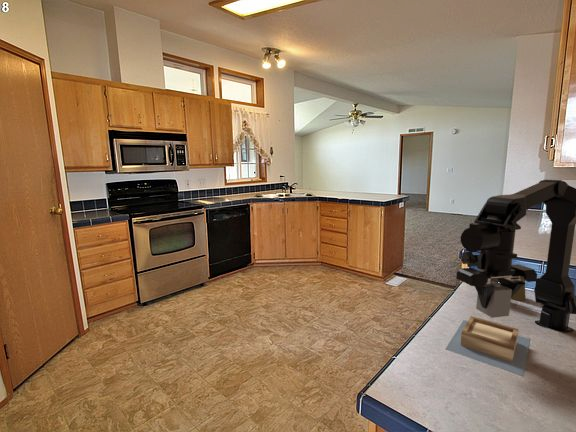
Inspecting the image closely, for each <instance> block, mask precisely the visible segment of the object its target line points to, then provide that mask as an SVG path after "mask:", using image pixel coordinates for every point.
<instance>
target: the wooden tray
mask: <svg viewBox="0 0 576 432" xmlns="http://www.w3.org/2000/svg"><path fill="white" fill-rule="evenodd" d="M467 321H468V322H467V323H466V325H465V327H464V328H463V330H462V334H461V344H460V345H462V346H465V347H468V348H471V349H474V350H477V351H480V352H483V353H486V354H489V355H492V356H495V357H498V358H501V359H504V360H507V361H510V362H512V361H513V357H514V353H515V349H516V345H517V339H518V336H519V328H516V327H512V326H508V325H506V324H501V323H497V322H494V321H490V320H487V319H484V318H479V317H475V316H470V317H469V318H468V320H467Z"/></svg>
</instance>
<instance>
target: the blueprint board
mask: <svg viewBox="0 0 576 432" xmlns="http://www.w3.org/2000/svg"><path fill="white" fill-rule="evenodd" d="M467 322H468V320H464V319H463V320H462V321H461V323H460V325H459V326H458V329H457V330H456V332H455V333H454V335H453V336H452V338H451V339H450V341H449V342H448V344H447V346H446V347H445V350H446V351H450V352H451V353H452V352H453V353H456V354H458V355H461V356H464V357H467V358H469V359H473V360H475V361H478V362H481V363H484V364H487V365H490V366H493V367H495V368H499V369H501V370H503V371H507V372H510V373H512V374H515V375H518V376H522V377H524V375H525V371H526V367H527V359H528V355H529V354H528V353H529V347H530V343H531V338H528V337H525V336H521V335H518V339H517V345H516V349H515V353H514V357H513V361H512V362H510V361H507V360H504V359H501V358H498V357H495V356H492V355H489V354H486V353H483V352H480V351H477V350H474V349H471V348H468V347H465V346H462V345H460V344H461V334H462V330H463V328H464V327H465V325H466V323H467Z"/></svg>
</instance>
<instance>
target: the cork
mask: <svg viewBox="0 0 576 432" xmlns="http://www.w3.org/2000/svg"><path fill="white" fill-rule="evenodd" d="M520 278H521V281H522V282H524V283H526V281H525V280H524V277H522V276H520ZM526 297H527V295H526V284H525V285H523V286H522V287H521V288H520V289H519V290H518V291H517V292H516V293H515V294H514V295H513V297H512V298H511V300H513V301H517V302H518V301H519V302H524V301H526Z"/></svg>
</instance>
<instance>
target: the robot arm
mask: <svg viewBox="0 0 576 432" xmlns="http://www.w3.org/2000/svg"><path fill="white" fill-rule="evenodd" d="M541 203H543V204H544V205H545V214H546V216H547V217H548V220H549V221H550V222H551V226H550V227H551V228H550V237H549V242H548V243H549V244H548V251H547V260H546V265H545V266H546V267H545V272H544V273H543V274H542V275H541V276H540V277H538V273H537V271H536V270H535V269H533V268H531V267H528V266H525V265H522V264H519V263H518V264H517V263H516V264H513V259H517V258H518V253H514V248H515V238H516V237H515V236H516V231H517V230H521V229H522V226H521V225H520V224H519V223H517V222H519V221H520V220H521V219H522V218H524V217H526V216H527V211H528V210H529V209H531V208H533V207H535V206H537V205H540V204H541ZM575 229H576V187H573V186H572V185H569V184H568V183H567V182H566V181H564V180H561V179H543V180H539V181H538V182H537V183H535V184H533V185H531V186H528V187H527V188H523V189H521V190H519V191H517V192H514V193H512V194H510V193H509V194H499V195H493V196H490V197H488V198H487V200H486V202H485V203H484V205H483V206H482V208H481V209H480V211H479V213H478V215H476V218H475V220H474V222H469V227H468V228H465V229H464V230H463V231H462V233H461V235H460V244H461V245H462V247H463V249H464V250H466V251H462V252H461V257H460V258H461V263H462V264H463V265H466V268H465V267H464V268H462V267H461V268H459V269H457V270H456V277H455V279H456V280H459V281H461V282H463V283H464V284H467V285H469V286H471V287H474V288H475V290H476V293H477V296H479V299H480V302H481V306H482V307H483V308H487V306H488V304H489V301H490V298H491V296H492V293H493V290H494V287H495V286H493V285H491V284H490V281H491V279H496V278H498V280H499V281H498V283H500V284H501V285H503V286H505V287H508V288H510V289H512V294H511V298H512V297H513V295H514V294H515V293H516V292H517V291H518V290H519V289H520V288H521V287H522V286H523V285H525V286H526V282H527V283H533V282H535V286H534V289H533V292H534V299H535V303H537V304H539V305H541V306H542V307H541V310H540V316H539V320H535V321H534V323H535V324H536V325H539V326H541V327H543V328H545V329H550V330H553V331H557V332H560V333H569V332H574V328H572V327H570V326H569V323H570V315H576V294H575V287H576V286H575V284H574V283H573V281H572V279H571V278H570V276H569V271H570V266H571V265H570V264H571V258H572V257H571V256H572V251H573V250H572V249H573V243H574V237H575ZM476 252H479V254H474V253H476ZM473 267H476V268H473ZM479 269H483V270H484V272H481V271H479ZM520 276H522V277H524V280H525V283H524V282H522V281H521V278H520Z"/></svg>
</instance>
